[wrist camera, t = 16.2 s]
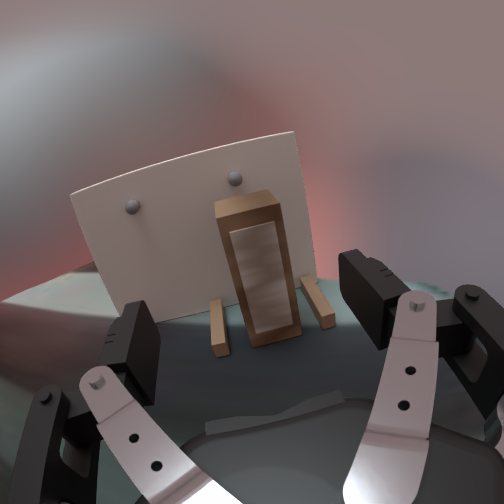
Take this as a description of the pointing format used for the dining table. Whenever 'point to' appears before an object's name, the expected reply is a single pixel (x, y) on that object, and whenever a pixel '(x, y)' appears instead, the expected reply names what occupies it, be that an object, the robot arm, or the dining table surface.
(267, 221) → the frame block
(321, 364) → the dining table surface
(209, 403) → the dining table surface
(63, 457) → the robot arm
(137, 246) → the white upright flat panel
